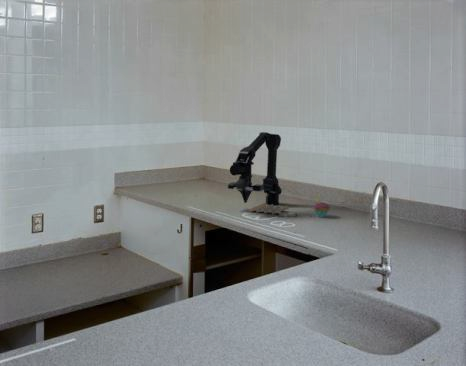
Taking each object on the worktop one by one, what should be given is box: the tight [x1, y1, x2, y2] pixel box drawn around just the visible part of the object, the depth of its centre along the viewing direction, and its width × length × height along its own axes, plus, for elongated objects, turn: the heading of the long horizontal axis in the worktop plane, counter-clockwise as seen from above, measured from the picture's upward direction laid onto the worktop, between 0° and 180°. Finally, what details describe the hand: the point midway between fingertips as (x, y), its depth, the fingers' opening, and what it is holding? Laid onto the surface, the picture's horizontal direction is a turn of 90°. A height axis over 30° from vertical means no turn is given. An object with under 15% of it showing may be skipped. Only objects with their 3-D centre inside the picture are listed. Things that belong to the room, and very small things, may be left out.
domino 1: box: [248, 202, 267, 212], centre depth 292 cm, size 2×5×8 cm
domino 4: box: [271, 205, 290, 214], centre depth 286 cm, size 2×5×8 cm
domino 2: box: [256, 204, 275, 213], centre depth 290 cm, size 2×5×8 cm
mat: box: [239, 208, 285, 218], centre depth 291 cm, size 25×9×1 cm, turn 64°
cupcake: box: [312, 194, 331, 218], centre depth 284 cm, size 9×8×12 cm
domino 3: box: [264, 204, 282, 214], centre depth 288 cm, size 2×5×8 cm
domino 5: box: [279, 210, 298, 218], centre depth 285 cm, size 2×5×8 cm
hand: (245, 202), depth 295 cm, fingers closed
